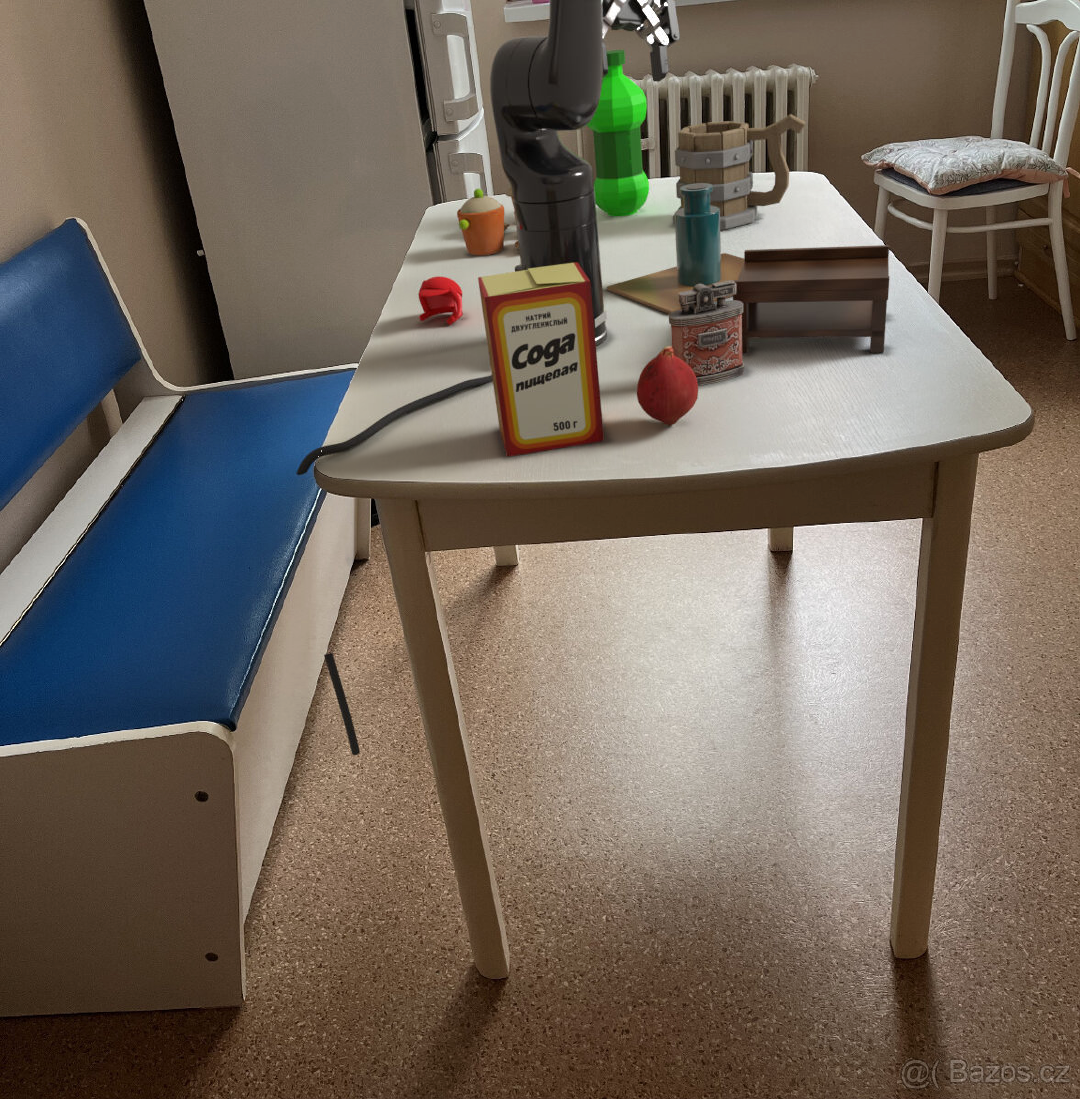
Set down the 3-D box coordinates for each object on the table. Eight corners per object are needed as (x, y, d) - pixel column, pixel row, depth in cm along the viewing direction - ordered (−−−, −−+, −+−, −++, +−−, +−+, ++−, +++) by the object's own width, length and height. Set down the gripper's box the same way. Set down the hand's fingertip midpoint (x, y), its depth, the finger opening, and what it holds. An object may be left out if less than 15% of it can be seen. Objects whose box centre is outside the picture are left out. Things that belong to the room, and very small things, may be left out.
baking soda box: (507, 456, 99) (484, 293, 90) (499, 429, 104) (477, 273, 96) (604, 440, 99) (589, 276, 91) (591, 414, 105) (577, 258, 97)
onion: (651, 442, 98) (646, 362, 94) (631, 420, 103) (625, 343, 99) (708, 429, 99) (706, 350, 95) (685, 408, 104) (682, 331, 100)
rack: (733, 354, 115) (732, 281, 111) (745, 317, 124) (744, 249, 120) (884, 353, 110) (889, 277, 106) (884, 315, 120) (889, 244, 116)
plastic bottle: (586, 211, 180) (572, 54, 167) (644, 202, 181) (635, 45, 168) (599, 224, 171) (585, 59, 158) (660, 214, 172) (652, 49, 159)
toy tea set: (561, 252, 159) (555, 187, 154) (461, 264, 159) (452, 200, 154) (553, 213, 181) (547, 155, 176) (466, 223, 182) (458, 166, 177)
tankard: (668, 232, 162) (664, 131, 154) (683, 211, 172) (679, 115, 164) (799, 228, 156) (801, 122, 148) (806, 207, 166) (808, 107, 158)
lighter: (679, 390, 108) (675, 297, 103) (666, 379, 110) (662, 288, 105) (749, 374, 109) (749, 281, 104) (735, 364, 112) (734, 273, 107)
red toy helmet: (425, 313, 140) (417, 269, 137) (468, 309, 139) (461, 265, 136) (416, 333, 133) (407, 287, 130) (461, 329, 132) (454, 283, 129)
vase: (718, 285, 134) (716, 190, 128) (674, 286, 136) (669, 193, 130) (723, 272, 139) (722, 180, 133) (681, 273, 141) (677, 182, 135)
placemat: (670, 315, 128) (670, 311, 128) (606, 289, 140) (606, 286, 140) (795, 277, 136) (795, 273, 135) (724, 256, 147) (724, 252, 147)
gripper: (581, -79, 121) (596, 64, 123) (681, -67, 127) (695, 69, 129) (552, -49, 128) (567, 86, 130) (649, -38, 134) (662, 91, 136)
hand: (631, 78), depth 129 cm, fingers open, 8 cm apart
